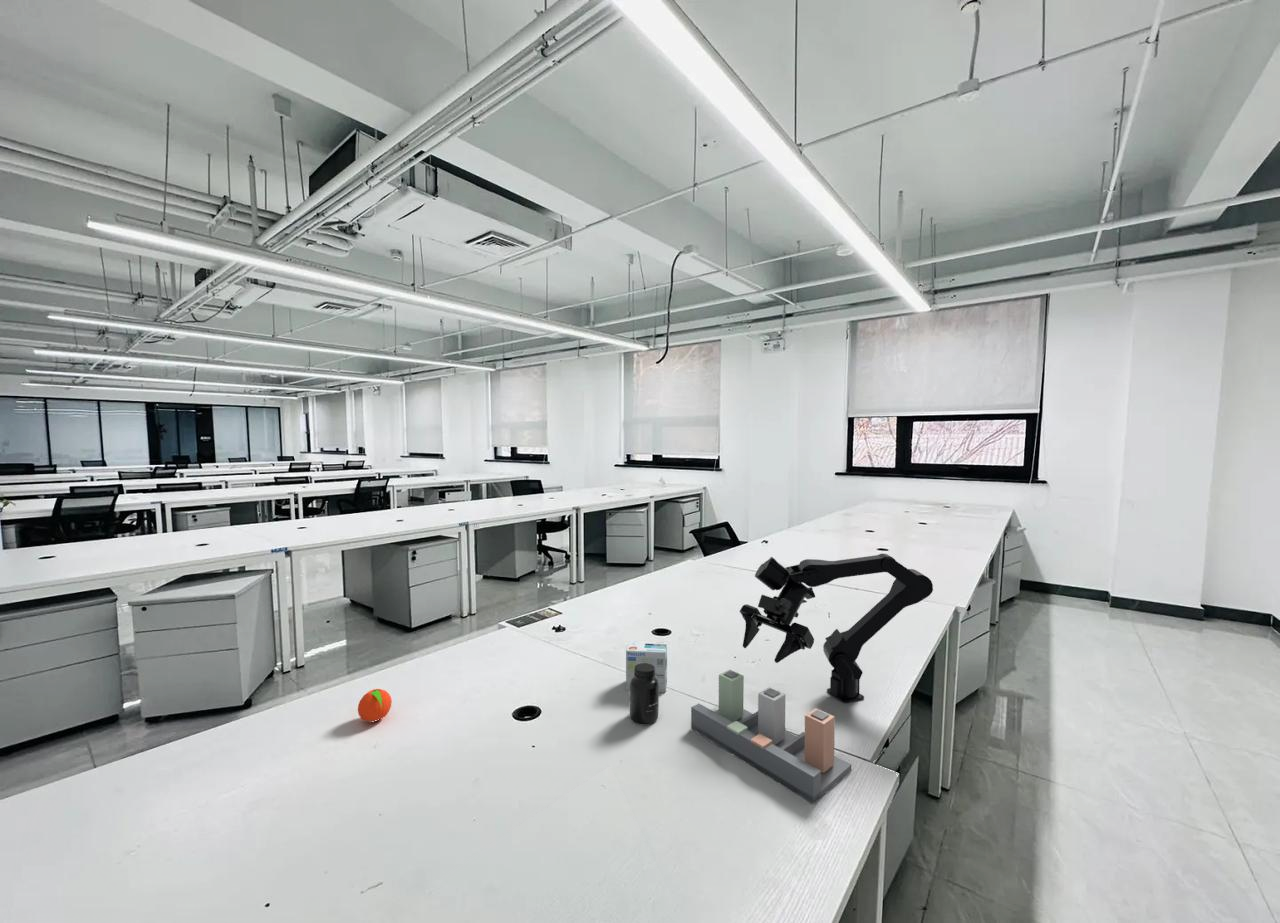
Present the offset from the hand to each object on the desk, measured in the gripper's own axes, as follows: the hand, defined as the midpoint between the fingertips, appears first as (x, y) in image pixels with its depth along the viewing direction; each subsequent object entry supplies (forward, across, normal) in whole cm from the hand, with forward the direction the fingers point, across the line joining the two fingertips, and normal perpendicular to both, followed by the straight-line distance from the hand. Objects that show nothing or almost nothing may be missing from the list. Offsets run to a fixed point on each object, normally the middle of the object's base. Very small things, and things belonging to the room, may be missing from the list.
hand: (759, 654), depth 117 cm
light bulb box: (+20, -25, +2) cm, 32 cm away
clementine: (+64, -54, -36) cm, 91 cm away
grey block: (+15, +11, +2) cm, 19 cm away
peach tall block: (+14, +22, +1) cm, 26 cm away
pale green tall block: (+15, 0, +2) cm, 15 cm away
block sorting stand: (+17, +11, +1) cm, 21 cm away
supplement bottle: (+27, -14, -6) cm, 31 cm away
